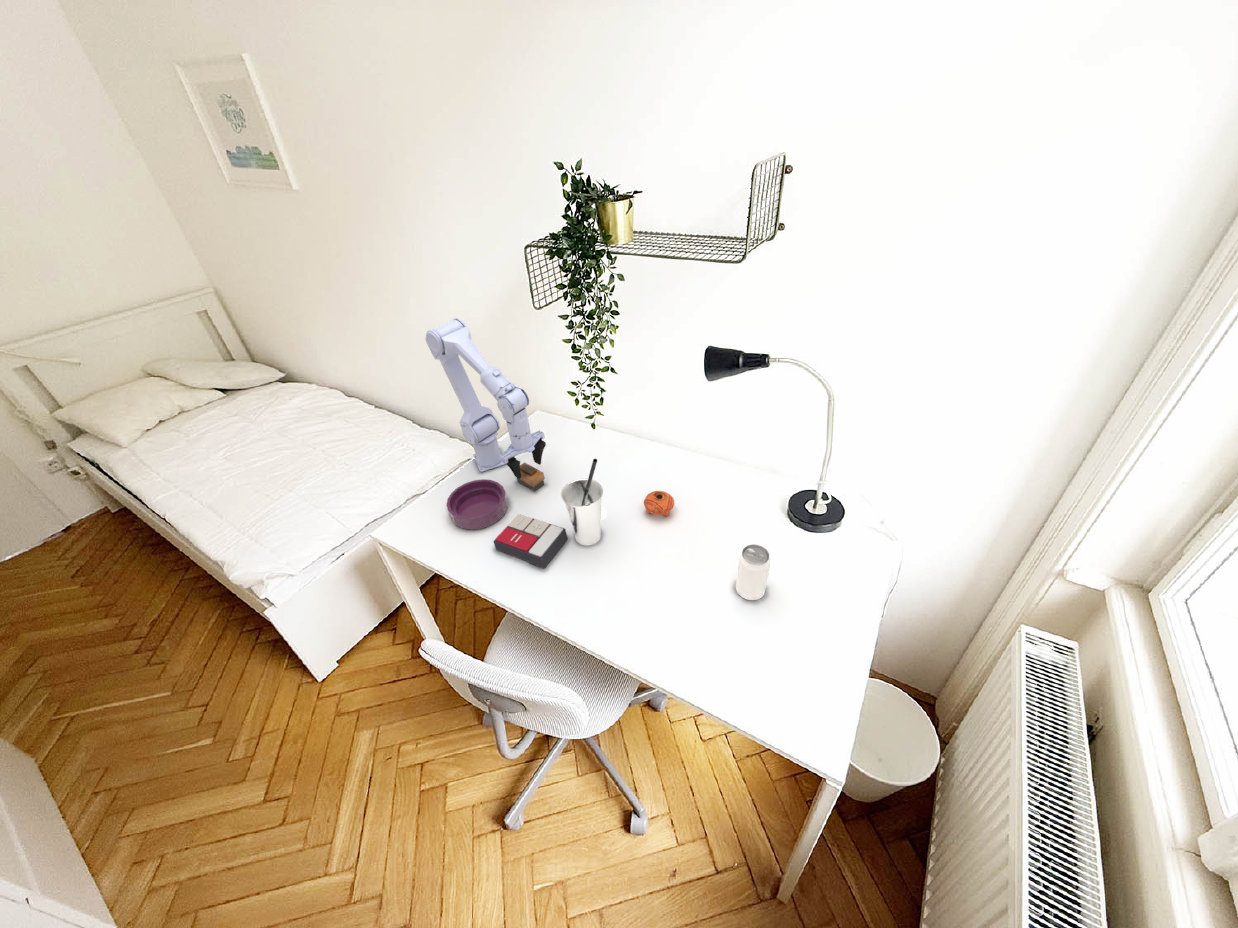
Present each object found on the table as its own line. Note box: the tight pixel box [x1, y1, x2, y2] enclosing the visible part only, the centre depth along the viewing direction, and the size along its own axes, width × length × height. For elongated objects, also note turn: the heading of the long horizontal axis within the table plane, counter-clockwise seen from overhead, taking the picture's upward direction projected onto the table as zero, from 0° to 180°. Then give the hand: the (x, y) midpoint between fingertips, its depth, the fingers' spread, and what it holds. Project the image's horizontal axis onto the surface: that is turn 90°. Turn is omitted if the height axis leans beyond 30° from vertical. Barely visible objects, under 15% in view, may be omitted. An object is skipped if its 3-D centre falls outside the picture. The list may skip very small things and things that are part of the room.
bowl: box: [446, 478, 509, 530], centre depth 144 cm, size 16×16×4 cm
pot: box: [643, 490, 675, 517], centre depth 139 cm, size 8×8×7 cm
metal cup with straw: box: [560, 458, 604, 547], centre depth 125 cm, size 11×11×30 cm
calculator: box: [493, 513, 569, 569], centre depth 133 cm, size 11×4×15 cm
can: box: [735, 543, 771, 601], centre depth 115 cm, size 6×6×12 cm
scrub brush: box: [515, 461, 546, 493], centre depth 151 cm, size 8×4×6 cm, turn 50°
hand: (528, 469), depth 149 cm, fingers open, 7 cm apart
